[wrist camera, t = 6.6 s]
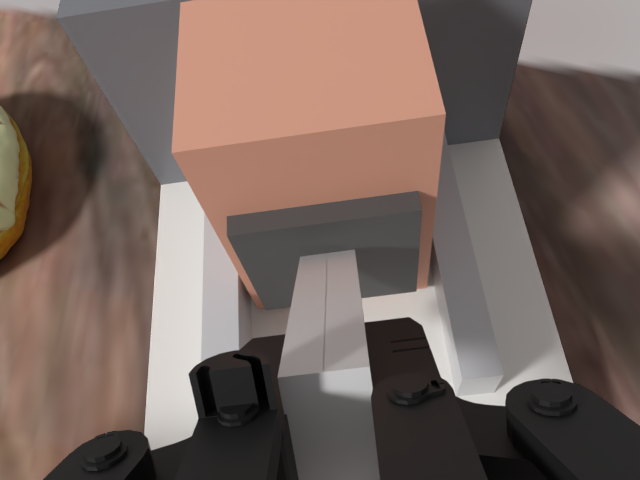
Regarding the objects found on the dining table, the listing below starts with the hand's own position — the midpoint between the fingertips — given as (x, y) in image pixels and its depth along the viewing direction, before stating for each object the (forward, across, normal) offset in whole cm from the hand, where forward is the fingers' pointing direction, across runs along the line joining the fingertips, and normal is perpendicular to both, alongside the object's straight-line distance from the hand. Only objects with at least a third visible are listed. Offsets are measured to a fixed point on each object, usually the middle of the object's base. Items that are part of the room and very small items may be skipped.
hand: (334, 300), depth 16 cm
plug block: (+6, 0, 0) cm, 6 cm away
